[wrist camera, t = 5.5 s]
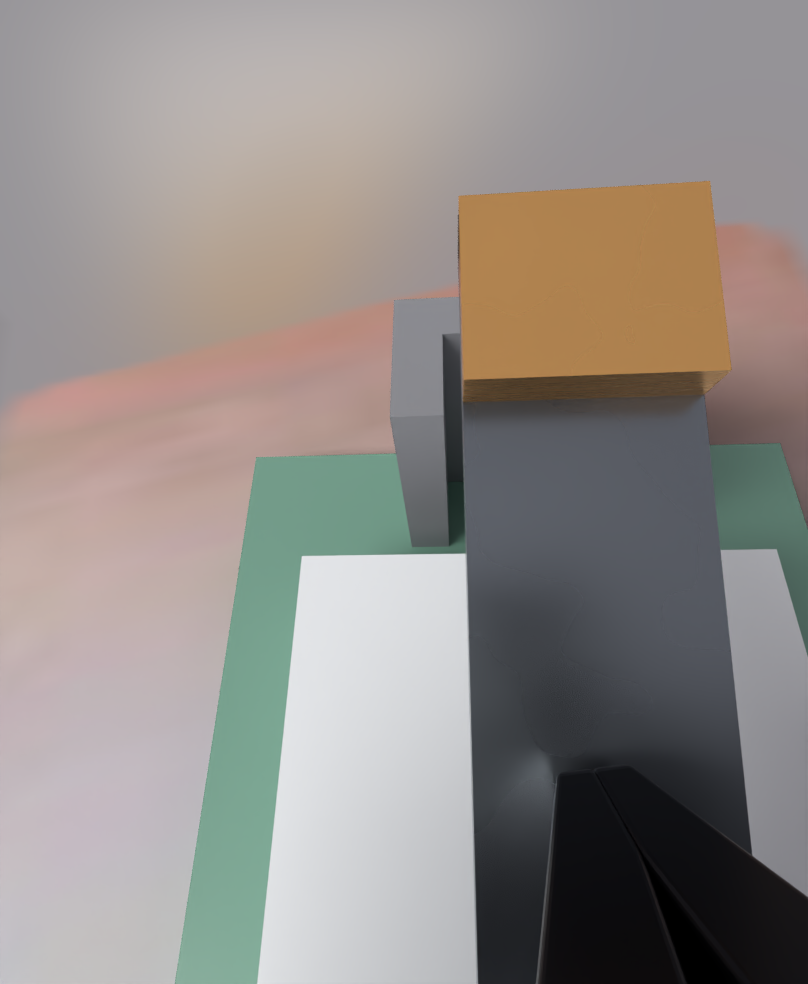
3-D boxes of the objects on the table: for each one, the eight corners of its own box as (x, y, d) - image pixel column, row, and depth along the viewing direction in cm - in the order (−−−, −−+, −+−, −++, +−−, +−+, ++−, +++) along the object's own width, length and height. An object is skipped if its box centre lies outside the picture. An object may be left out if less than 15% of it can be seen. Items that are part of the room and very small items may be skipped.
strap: (796, 1765, 6) (951, 2282, 4) (495, 1727, 7) (511, 2198, 5) (656, 252, 10) (707, 159, 8) (457, 263, 10) (457, 174, 8)
